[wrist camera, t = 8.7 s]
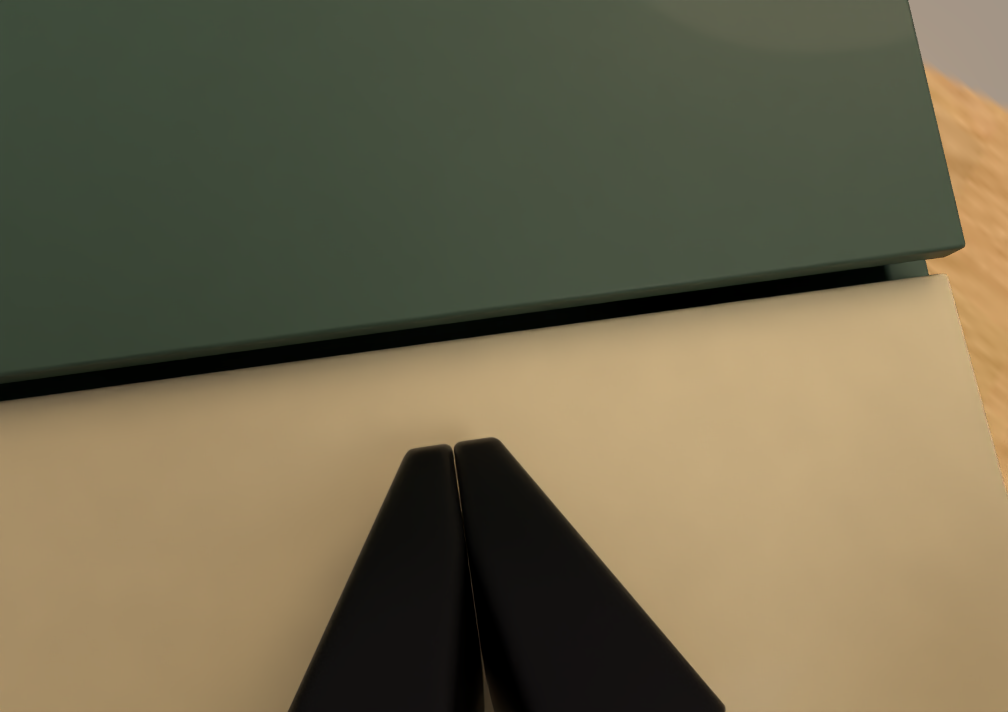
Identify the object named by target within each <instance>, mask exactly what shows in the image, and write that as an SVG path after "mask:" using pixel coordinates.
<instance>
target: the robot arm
mask: <svg viewBox="0 0 1008 712" xmlns="http://www.w3.org/2000/svg"><path fill="white" fill-rule="evenodd" d="M453 451H454V455H453ZM454 458H455V462H454ZM455 465H456V470H455ZM456 473H457V477H456ZM457 480H458V484H457ZM458 487H459V491H458ZM459 494H460V498H459ZM460 502H461V506H460ZM461 509H462V513H461ZM462 516H463V520H462ZM463 523H464V527H463ZM464 530H465V534H464ZM465 538H466V542H465ZM466 545H467V549H466ZM467 552H468V556H467ZM468 559H469V563H468ZM469 566H470V571H469ZM470 574H471V578H470ZM471 581H472V585H471ZM472 588H473V592H472ZM473 595H474V599H473ZM474 602H475V607H474ZM475 610H476V614H475ZM476 617H477V621H476ZM477 624H478V628H477ZM478 631H479V636H478ZM479 638H480V643H479ZM480 646H481V650H480ZM481 653H482V658H483V664H484V670H485V676H486V680H487V684H488V689H489V693H490V697H491V701H492V705H493V709H494V712H725V711H726V707H725V705H724V704H723V703H722V701H721V700H720V699H719V698H718V697H717V696H716V694H715V693H714V692H713V691H712V690H711V688H710V687H709V686H708V685H707V684H706V683H705V681H704V680H703V679H702V678H701V677H700V675H699V674H698V673H697V672H696V671H695V670H694V668H693V667H692V666H691V665H690V664H689V662H688V661H687V660H686V659H685V658H684V657H683V655H682V654H681V653H680V652H679V651H678V650H677V648H676V647H675V646H674V645H673V644H672V642H671V641H670V640H669V639H668V638H667V637H666V635H665V634H664V633H663V632H662V631H661V629H660V628H659V627H658V626H657V625H656V624H655V622H654V621H653V620H652V619H651V618H650V617H649V615H648V614H647V613H646V612H645V611H644V609H643V608H642V607H641V606H640V605H639V604H638V602H637V601H636V600H635V599H634V598H633V596H632V595H631V594H630V593H629V592H628V591H627V589H626V588H625V587H624V586H623V585H622V584H621V582H620V581H619V580H618V579H617V578H616V576H615V575H614V574H613V573H612V572H611V571H610V569H609V568H608V567H607V566H606V565H605V563H604V562H603V561H602V560H601V559H600V558H599V556H598V555H597V554H596V553H595V552H594V550H593V549H592V548H591V547H590V546H589V545H588V543H587V542H586V541H585V540H584V539H583V538H582V536H581V535H580V534H579V533H578V532H577V530H576V529H575V528H574V527H573V526H572V525H571V523H570V522H569V521H568V520H567V519H566V517H565V516H564V515H563V514H562V513H561V512H560V510H559V509H558V508H557V507H556V506H555V505H554V503H553V502H552V501H551V500H550V499H549V497H548V496H547V495H546V494H545V493H544V492H543V490H542V489H541V488H540V487H539V486H538V484H537V483H536V482H535V481H534V480H533V479H532V477H531V476H530V475H529V474H528V473H527V472H526V470H525V469H524V468H523V467H522V466H521V464H520V463H519V462H518V461H517V460H516V459H515V457H514V456H513V455H512V454H511V453H510V451H509V450H508V449H507V448H506V447H505V446H504V444H503V443H502V442H501V441H500V440H499V439H497V438H494V437H487V438H480V439H473V440H466V441H460V442H458V443H456V444H455V446H454V450H452V448H451V446H450V445H448V444H439V445H432V446H425V447H418V448H413V449H410V450H409V451H407V453H406V454H405V456H404V457H403V460H402V462H401V464H400V466H399V468H398V470H397V473H396V475H395V477H394V479H393V481H392V484H391V486H390V488H389V490H388V492H387V495H386V497H385V499H384V501H383V503H382V506H381V508H380V510H379V512H378V514H377V517H376V519H375V521H374V523H373V525H372V528H371V530H370V532H369V534H368V536H367V539H366V541H365V543H364V545H363V547H362V549H361V552H360V554H359V556H358V558H357V560H356V563H355V565H354V567H353V569H352V571H351V574H350V576H349V578H348V580H347V582H346V585H345V587H344V589H343V591H342V593H341V596H340V598H339V600H338V602H337V604H336V607H335V609H334V611H333V613H332V615H331V618H330V620H329V622H328V624H327V626H326V628H325V631H324V633H323V635H322V637H321V639H320V642H319V644H318V646H317V648H316V650H315V653H314V655H313V657H312V659H311V661H310V664H309V666H308V668H307V670H306V672H305V675H304V677H303V679H302V681H301V683H300V686H299V688H298V690H297V692H296V694H295V697H294V699H293V701H292V703H291V705H290V707H289V710H288V712H485V702H484V680H483V668H482V659H481Z"/></svg>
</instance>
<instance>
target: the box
mask: <svg viewBox="0 0 1008 712" xmlns="http://www.w3.org/2000/svg"><path fill="white" fill-rule="evenodd" d="M964 247H965V240H964V236H963V232H962V227H961V223H960V219H959V215H958V210H957V206H956V202H955V198H954V193H953V189H952V185H951V181H950V176H949V172H948V168H947V164H946V159H945V155H944V151H943V147H942V142H941V138H940V134H939V130H938V125H937V121H936V117H935V113H934V108H933V104H932V100H931V96H930V91H929V87H928V83H927V79H926V75H925V70H924V66H923V62H922V58H921V53H920V49H919V45H918V41H917V37H916V32H915V28H914V24H913V19H912V15H911V11H910V7H909V2H908V0H0V401H7V400H15V399H22V398H29V397H37V396H44V395H51V394H59V393H66V392H73V391H81V390H88V389H96V388H103V387H110V386H118V385H125V384H132V383H140V382H147V381H154V380H162V379H169V378H177V377H184V376H191V375H199V374H206V373H213V372H221V371H228V370H235V369H243V368H250V367H258V366H265V365H272V364H280V363H287V362H294V361H302V360H309V359H316V358H324V357H331V356H339V355H346V354H353V353H361V352H368V351H375V350H383V349H390V348H397V347H405V346H412V345H420V344H427V343H434V342H442V341H449V340H456V339H464V338H471V337H478V336H486V335H493V334H501V333H508V332H515V331H523V330H530V329H537V328H545V327H552V326H559V325H567V324H574V323H582V322H589V321H596V320H604V319H611V318H618V317H626V316H633V315H640V314H648V313H655V312H663V311H670V310H677V309H685V308H692V307H699V306H707V305H714V304H721V303H729V302H736V301H744V300H751V299H758V298H766V297H773V296H780V295H788V294H795V293H803V292H810V291H817V290H825V289H832V288H839V287H847V286H854V285H861V284H869V283H876V282H884V281H891V280H898V279H906V278H913V277H920V276H928V275H929V274H928V270H927V265H926V261H925V260H927V259H934V258H941V257H945V256H948V255H950V254H952V253H954V252H956V251H958V250H960V249H962V248H964Z"/></svg>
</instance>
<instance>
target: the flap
mask: <svg viewBox="0 0 1008 712" xmlns="http://www.w3.org/2000/svg"><path fill="white" fill-rule="evenodd" d="M487 437H494V438H497V439H499V440H500V441H501V442H502V443H503V444H504V446H505V447H506V448H507V449H508V450H509V451H510V453H511V454H512V455H513V456H514V457H515V459H516V460H517V461H518V462H519V463H520V464H521V466H522V467H523V468H524V469H525V470H526V472H527V473H528V474H529V475H530V476H531V477H532V479H533V480H534V481H535V482H536V483H537V484H538V486H539V487H540V488H541V489H542V490H543V492H544V493H545V494H546V495H547V496H548V497H549V499H550V500H551V501H552V502H553V503H554V505H555V506H556V507H557V508H558V509H559V510H560V512H561V513H562V514H563V515H564V516H565V517H566V519H567V520H568V521H569V522H570V523H571V525H572V526H573V527H574V528H575V529H576V530H577V532H578V533H579V534H580V535H581V536H582V538H583V539H584V540H585V541H586V542H587V543H588V545H589V546H590V547H591V548H592V549H593V550H594V552H595V553H596V554H597V555H598V556H599V558H600V559H601V560H602V561H603V562H604V563H605V565H606V566H607V567H608V568H609V569H610V571H611V572H612V573H613V574H614V575H615V576H616V578H617V579H618V580H619V581H620V582H621V584H622V585H623V586H624V587H625V588H626V589H627V591H628V592H629V593H630V594H631V595H632V596H633V598H634V599H635V600H636V601H637V602H638V604H639V605H640V606H641V607H642V608H643V609H644V611H645V612H646V613H647V614H648V615H649V617H650V618H651V619H652V620H653V621H654V622H655V624H656V625H657V626H658V627H659V628H660V629H661V631H662V632H663V633H664V634H665V635H666V637H667V638H668V639H669V640H670V641H671V642H672V644H673V645H674V646H675V647H676V648H677V650H678V651H679V652H680V653H681V654H682V655H683V657H684V658H685V659H686V660H687V661H688V662H689V664H690V665H691V666H692V667H693V668H694V670H695V671H696V672H697V673H698V674H699V675H700V677H701V678H702V679H703V680H704V681H705V683H706V684H707V685H708V686H709V687H710V688H711V690H712V691H713V692H714V693H715V694H716V696H717V697H718V698H719V699H720V700H721V701H722V703H723V704H724V705H725V707H726V711H725V712H1008V495H1007V491H1006V487H1005V484H1004V480H1003V476H1002V473H1001V469H1000V465H999V462H998V458H997V454H996V451H995V447H994V443H993V440H992V436H991V432H990V429H989V425H988V421H987V418H986V414H985V410H984V407H983V403H982V400H981V396H980V392H979V389H978V385H977V381H976V378H975V374H974V370H973V367H972V363H971V359H970V356H969V352H968V348H967V345H966V341H965V337H964V334H963V330H962V326H961V323H960V319H959V315H958V312H957V308H956V304H955V301H954V297H953V293H952V290H951V286H950V282H949V279H948V276H947V275H946V274H935V275H928V276H920V277H913V278H906V279H898V280H891V281H884V282H876V283H869V284H861V285H854V286H847V287H839V288H832V289H825V290H817V291H810V292H803V293H795V294H788V295H780V296H773V297H766V298H758V299H751V300H744V301H736V302H729V303H721V304H714V305H707V306H699V307H692V308H685V309H677V310H670V311H663V312H655V313H648V314H640V315H633V316H626V317H618V318H611V319H604V320H596V321H589V322H582V323H574V324H567V325H559V326H552V327H545V328H537V329H530V330H523V331H515V332H508V333H501V334H493V335H486V336H478V337H471V338H464V339H456V340H449V341H442V342H434V343H427V344H420V345H412V346H405V347H397V348H390V349H383V350H375V351H368V352H361V353H353V354H346V355H339V356H331V357H324V358H316V359H309V360H302V361H294V362H287V363H280V364H272V365H265V366H258V367H250V368H243V369H235V370H228V371H221V372H213V373H206V374H199V375H191V376H184V377H177V378H169V379H162V380H154V381H147V382H140V383H132V384H125V385H118V386H110V387H103V388H96V389H88V390H81V391H73V392H66V393H59V394H51V395H44V396H37V397H29V398H22V399H15V400H7V401H0V712H288V710H289V707H290V705H291V703H292V701H293V699H294V697H295V694H296V692H297V690H298V688H299V686H300V683H301V681H302V679H303V677H304V675H305V672H306V670H307V668H308V666H309V664H310V661H311V659H312V657H313V655H314V653H315V650H316V648H317V646H318V644H319V642H320V639H321V637H322V635H323V633H324V631H325V628H326V626H327V624H328V622H329V620H330V618H331V615H332V613H333V611H334V609H335V607H336V604H337V602H338V600H339V598H340V596H341V593H342V591H343V589H344V587H345V585H346V582H347V580H348V578H349V576H350V574H351V571H352V569H353V567H354V565H355V563H356V560H357V558H358V556H359V554H360V552H361V549H362V547H363V545H364V543H365V541H366V539H367V536H368V534H369V532H370V530H371V528H372V525H373V523H374V521H375V519H376V517H377V514H378V512H379V510H380V508H381V506H382V503H383V501H384V499H385V497H386V495H387V492H388V490H389V488H390V486H391V484H392V481H393V479H394V477H395V475H396V473H397V470H398V468H399V466H400V464H401V462H402V460H403V457H404V456H405V454H406V453H407V451H409V450H410V449H413V448H418V447H425V446H432V445H439V444H448V445H450V446H451V448H452V450H454V446H455V444H456V443H458V442H460V441H466V440H473V439H480V438H487ZM453 455H454V451H453ZM454 462H455V458H454ZM455 470H456V465H455ZM456 477H457V473H456ZM457 484H458V480H457ZM458 491H459V487H458ZM459 498H460V494H459ZM460 506H461V502H460ZM461 513H462V509H461ZM462 520H463V516H462ZM463 527H464V523H463ZM464 534H465V530H464ZM465 542H466V538H465ZM466 549H467V545H466ZM467 556H468V552H467ZM468 563H469V559H468ZM469 571H470V566H469ZM470 578H471V574H470ZM471 585H472V581H471ZM472 592H473V588H472ZM473 599H474V595H473ZM474 607H475V602H474ZM475 614H476V610H475ZM476 621H477V617H476ZM477 628H478V624H477ZM478 636H479V631H478ZM479 643H480V638H479ZM480 650H481V646H480ZM481 659H482V668H483V680H484V702H485V712H494V709H493V705H492V701H491V697H490V693H489V689H488V684H487V680H486V676H485V670H484V664H483V658H482V653H481Z"/></svg>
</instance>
